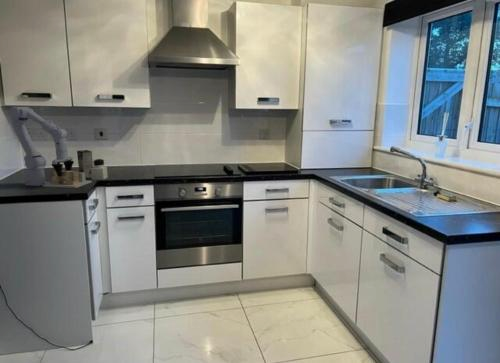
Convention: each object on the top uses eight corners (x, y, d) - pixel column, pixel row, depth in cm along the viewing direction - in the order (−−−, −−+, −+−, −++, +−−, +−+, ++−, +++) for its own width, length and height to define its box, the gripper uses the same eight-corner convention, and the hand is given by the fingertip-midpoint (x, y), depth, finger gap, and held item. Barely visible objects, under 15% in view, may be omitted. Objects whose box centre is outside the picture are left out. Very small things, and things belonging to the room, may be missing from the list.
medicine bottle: (107, 177, 229) (106, 158, 226) (103, 179, 222) (102, 160, 219) (96, 177, 228) (94, 158, 226) (91, 180, 222) (89, 160, 219)
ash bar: (51, 180, 206) (50, 171, 205) (56, 179, 210) (55, 170, 209) (74, 181, 204) (73, 172, 203) (78, 179, 207) (77, 171, 206)
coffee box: (78, 175, 236) (76, 150, 233) (89, 174, 241) (86, 149, 237) (84, 177, 230) (81, 151, 226) (94, 176, 234) (92, 151, 231)
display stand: (42, 186, 204) (41, 176, 202) (60, 181, 218) (59, 171, 217) (75, 187, 200) (74, 177, 199) (91, 182, 215) (90, 172, 214)
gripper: (59, 152, 196) (62, 177, 198) (76, 149, 210) (78, 172, 212) (47, 152, 197) (50, 177, 200) (65, 149, 211) (67, 172, 214)
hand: (64, 175), depth 206 cm, fingers open, 7 cm apart
